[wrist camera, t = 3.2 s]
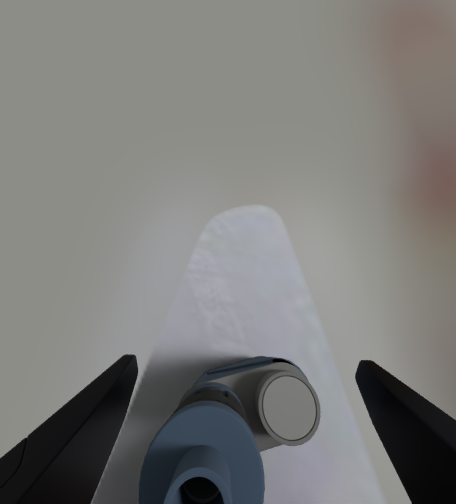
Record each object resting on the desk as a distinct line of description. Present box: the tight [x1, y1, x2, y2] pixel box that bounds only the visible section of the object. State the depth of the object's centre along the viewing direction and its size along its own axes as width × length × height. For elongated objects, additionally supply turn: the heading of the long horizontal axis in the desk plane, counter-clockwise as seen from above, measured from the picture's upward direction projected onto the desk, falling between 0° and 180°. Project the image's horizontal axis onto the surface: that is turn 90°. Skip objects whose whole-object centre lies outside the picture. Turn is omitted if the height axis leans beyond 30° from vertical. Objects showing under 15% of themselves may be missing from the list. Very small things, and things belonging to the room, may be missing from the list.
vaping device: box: [139, 356, 320, 504], centre depth 9 cm, size 3×5×12 cm, turn 103°
